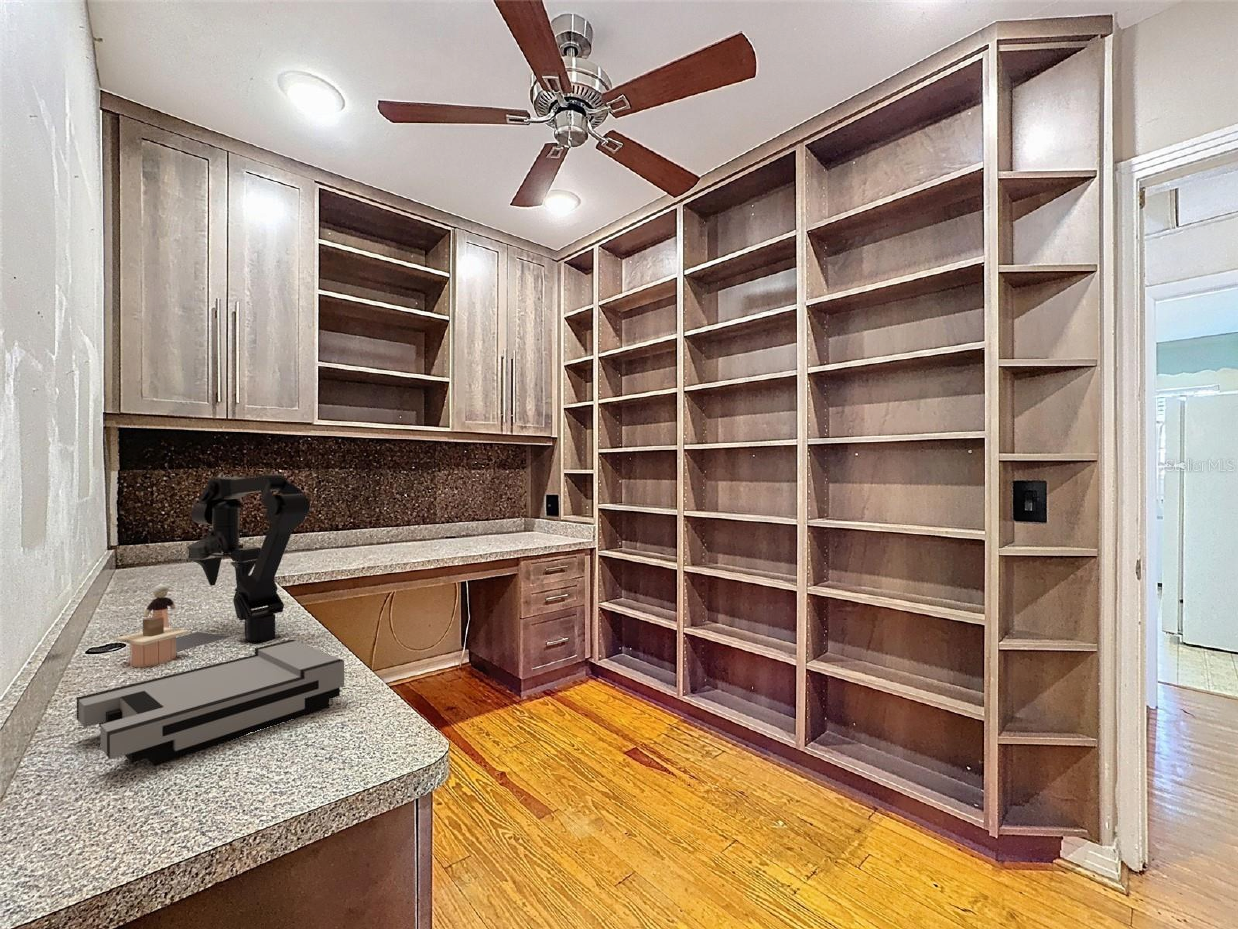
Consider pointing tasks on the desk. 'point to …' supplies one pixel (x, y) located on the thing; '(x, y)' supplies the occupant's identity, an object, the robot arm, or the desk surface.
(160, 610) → the grandmother figurine
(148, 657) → the bowl
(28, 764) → the desk surface
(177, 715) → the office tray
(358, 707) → the desk surface
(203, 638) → the mat
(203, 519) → the robot arm
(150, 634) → the lid
